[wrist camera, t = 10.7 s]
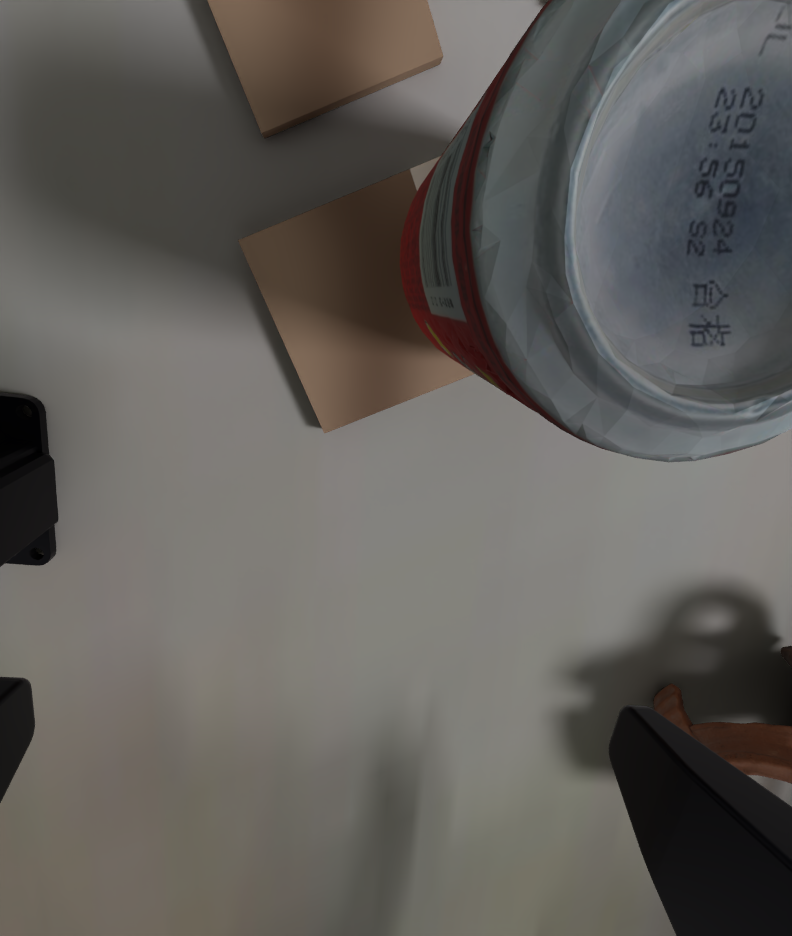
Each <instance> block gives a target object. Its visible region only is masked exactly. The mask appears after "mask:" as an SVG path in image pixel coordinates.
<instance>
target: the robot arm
mask: <svg viewBox="0 0 792 936" xmlns="http://www.w3.org/2000/svg"><path fill="white" fill-rule="evenodd" d="M23 405H25V406H28V407H29V408H30V409H31V412H32V415H31V417H30V416H27V415H26V414H25V413H24V411H23ZM57 521H58V508H57V495H56V481H55V468H54V460H53V459H52V458H51V456H50V455H49V449H48V436H47V423H46V411H45V407H44V405H43V404H42V402H41V401H40V400H38V399H37V398H35V397H32V396H27V395H17V394H8V393H0V567H1V566H2V565H3V564H5V563H9V564H23V565H44V564H46V563H48V562H49V561H50V560H51V559H52V558H53V557H54V556H55V554H56V540H55V527H54V524H55V523H56V522H57ZM35 548H39V549H41V550H42V551H43V553H44V555H42V554H39V553H38V552H37V551H36V549H35ZM34 729H35V718H34V708H33V698H32V688H31V684H30V682H29V681H28V680H27V679H25V678H14V677H0V803H1V801H2V799H3V797H4V795H5V793H6V791H7V789H8V787H9V785H10V783H11V781H12V779H13V777H14V775H15V773H16V771H17V769H18V767H19V765H20V763H21V760H22V758H23V756H24V754H25V752H26V750H27V748H28V746H29V744H30V742H31V740H32V737H33V734H34ZM609 756H610V761H611V764H612V767H613V770H614V773H615V776H616V779H617V782H618V785H619V788H620V791H621V794H622V797H623V800H624V803H625V806H626V809H627V812H628V815H629V817H630V820H631V823H632V826H633V829H634V832H635V835H636V838H637V841H638V844H639V847H640V850H641V853H642V855H643V858H644V861H645V863H646V866H647V868H648V871H649V873H650V876H651V878H652V880H653V883H654V885H655V887H656V890H657V892H658V894H659V897H660V899H661V901H662V904H663V906H664V908H665V910H666V913H667V915H668V917H669V920H670V922H671V924H672V927H673V929H674V931H675V933H676V936H792V807H791V806H790V805H789V804H787V803H786V802H784V801H783V800H781V799H780V798H779V797H777V796H776V795H774V794H773V793H771V792H770V791H769V790H767V789H766V788H764V787H763V786H762V785H760V784H759V783H757V782H756V781H754V780H753V779H752V778H750V777H749V776H747V775H746V774H745V773H743V772H742V771H740V770H739V769H737V768H736V767H735V766H733V765H732V764H730V763H729V762H727V761H726V760H725V759H723V758H722V757H720V756H719V755H718V754H716V753H715V752H713V751H712V750H710V749H709V748H708V747H706V746H705V745H703V744H702V743H701V742H699V741H698V740H696V739H695V738H693V737H692V736H691V735H689V734H688V733H686V732H685V731H683V730H682V729H681V728H679V727H678V726H676V725H675V724H674V723H672V722H671V721H669V720H668V719H666V718H665V717H664V716H662V715H661V714H659V713H658V712H657V711H655V710H654V709H652V708H650V707H647V706H634V705H627V706H624V707H623V708H622V709H621V710H620V713H619V716H618V719H617V722H616V725H615V728H614V731H613V734H612V737H611V740H610V744H609Z"/></svg>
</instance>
